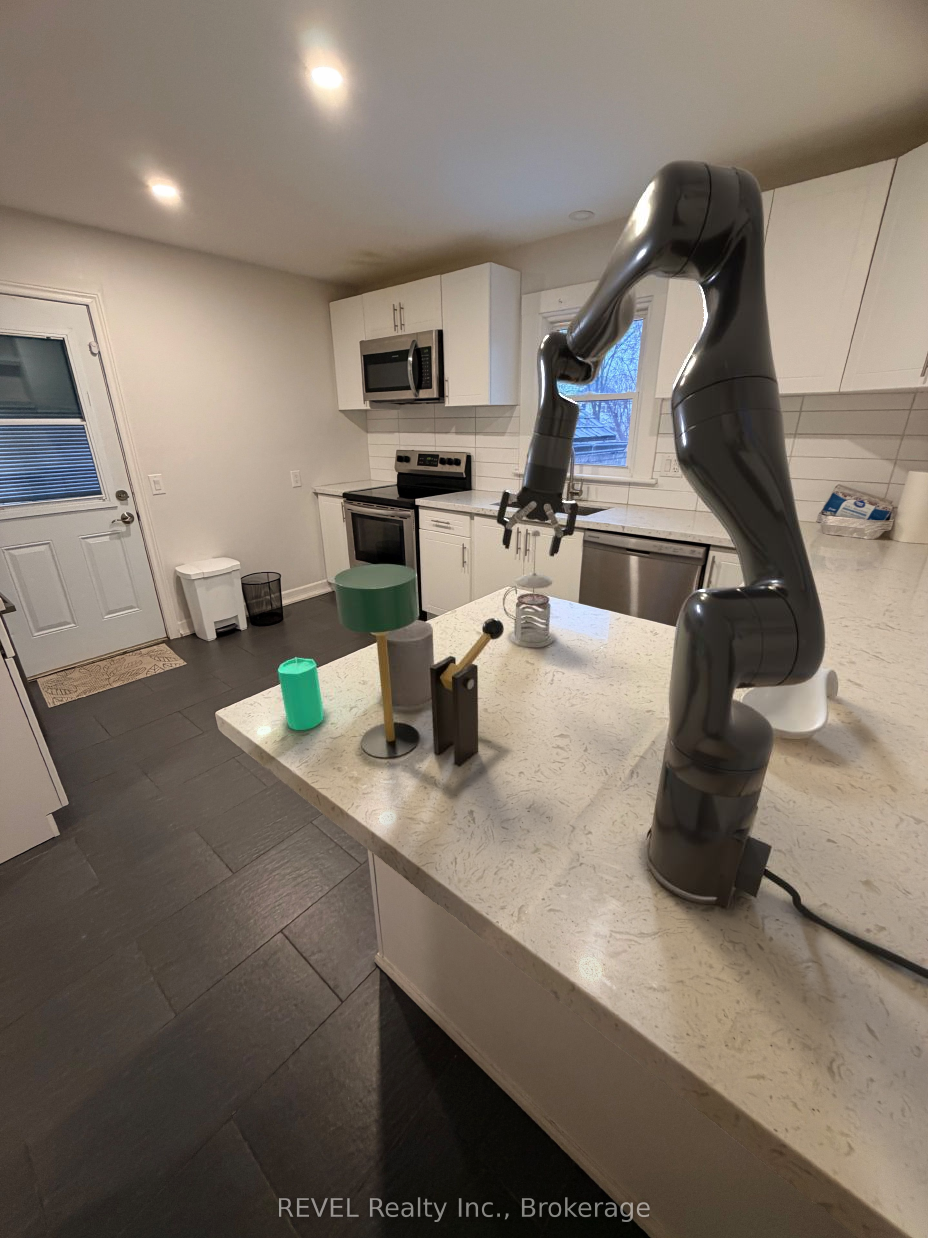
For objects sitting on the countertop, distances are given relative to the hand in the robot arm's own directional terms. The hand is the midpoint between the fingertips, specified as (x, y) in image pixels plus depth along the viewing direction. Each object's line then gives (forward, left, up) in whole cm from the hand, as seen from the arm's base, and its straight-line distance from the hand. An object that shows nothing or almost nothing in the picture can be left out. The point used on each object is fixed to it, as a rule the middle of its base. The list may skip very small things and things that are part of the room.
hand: (529, 551), depth 93 cm
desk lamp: (-1, +36, -24) cm, 43 cm away
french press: (+6, -11, -24) cm, 27 cm away
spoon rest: (-46, -12, -24) cm, 53 cm away
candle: (+18, +40, -24) cm, 50 cm away
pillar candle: (+9, +24, -24) cm, 35 cm away
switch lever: (-9, +27, -9) cm, 30 cm away
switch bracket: (-9, +32, -24) cm, 41 cm away
